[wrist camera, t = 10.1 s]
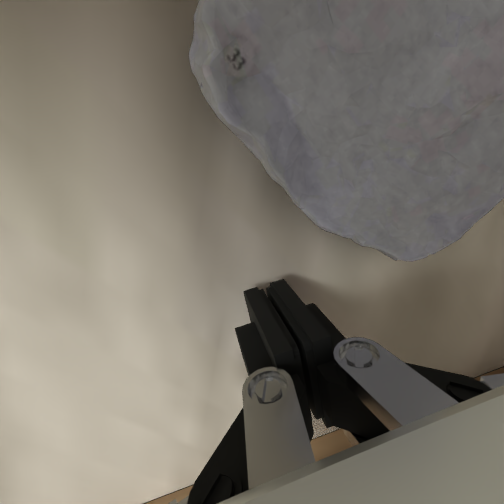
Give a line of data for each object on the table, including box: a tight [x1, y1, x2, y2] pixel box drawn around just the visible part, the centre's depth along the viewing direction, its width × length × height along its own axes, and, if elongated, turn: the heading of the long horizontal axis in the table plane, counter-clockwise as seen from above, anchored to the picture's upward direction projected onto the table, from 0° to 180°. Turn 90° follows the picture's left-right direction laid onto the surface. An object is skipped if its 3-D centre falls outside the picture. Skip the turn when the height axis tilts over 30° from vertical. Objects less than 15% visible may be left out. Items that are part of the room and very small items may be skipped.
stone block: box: [189, 0, 504, 261], centre depth 10 cm, size 12×5×10 cm
